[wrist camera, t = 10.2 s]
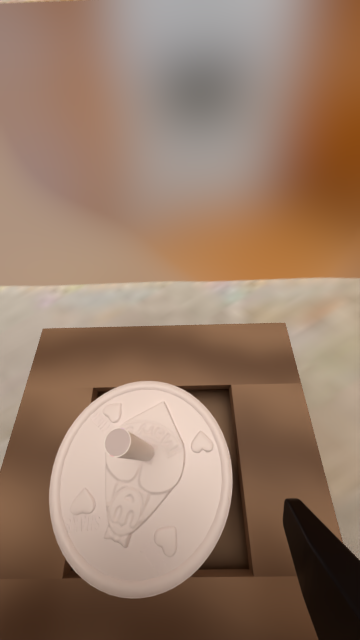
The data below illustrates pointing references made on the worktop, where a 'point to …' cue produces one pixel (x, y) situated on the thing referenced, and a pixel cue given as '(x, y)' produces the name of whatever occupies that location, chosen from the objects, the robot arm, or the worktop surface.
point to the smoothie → (140, 489)
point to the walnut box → (246, 501)
